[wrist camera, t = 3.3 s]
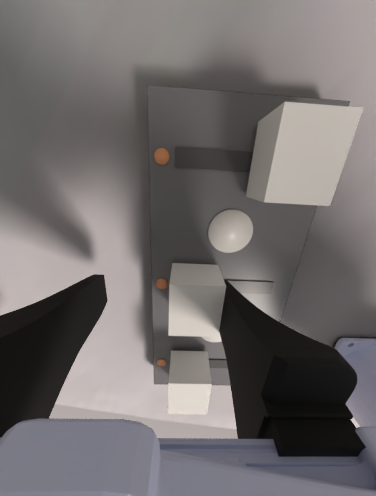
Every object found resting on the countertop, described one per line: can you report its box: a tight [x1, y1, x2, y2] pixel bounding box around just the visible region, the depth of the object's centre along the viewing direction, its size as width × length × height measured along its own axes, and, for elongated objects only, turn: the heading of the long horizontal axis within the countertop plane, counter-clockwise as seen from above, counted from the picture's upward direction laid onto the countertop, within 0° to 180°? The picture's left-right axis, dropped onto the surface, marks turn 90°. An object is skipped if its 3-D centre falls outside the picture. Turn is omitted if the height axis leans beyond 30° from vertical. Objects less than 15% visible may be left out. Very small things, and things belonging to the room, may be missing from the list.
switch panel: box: [147, 85, 350, 385], centre depth 13 cm, size 10×22×2 cm, turn 177°
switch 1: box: [168, 263, 226, 337], centre depth 11 cm, size 3×4×2 cm
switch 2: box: [168, 351, 212, 414], centre depth 14 cm, size 3×4×2 cm
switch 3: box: [246, 102, 364, 206], centre depth 8 cm, size 3×4×2 cm
